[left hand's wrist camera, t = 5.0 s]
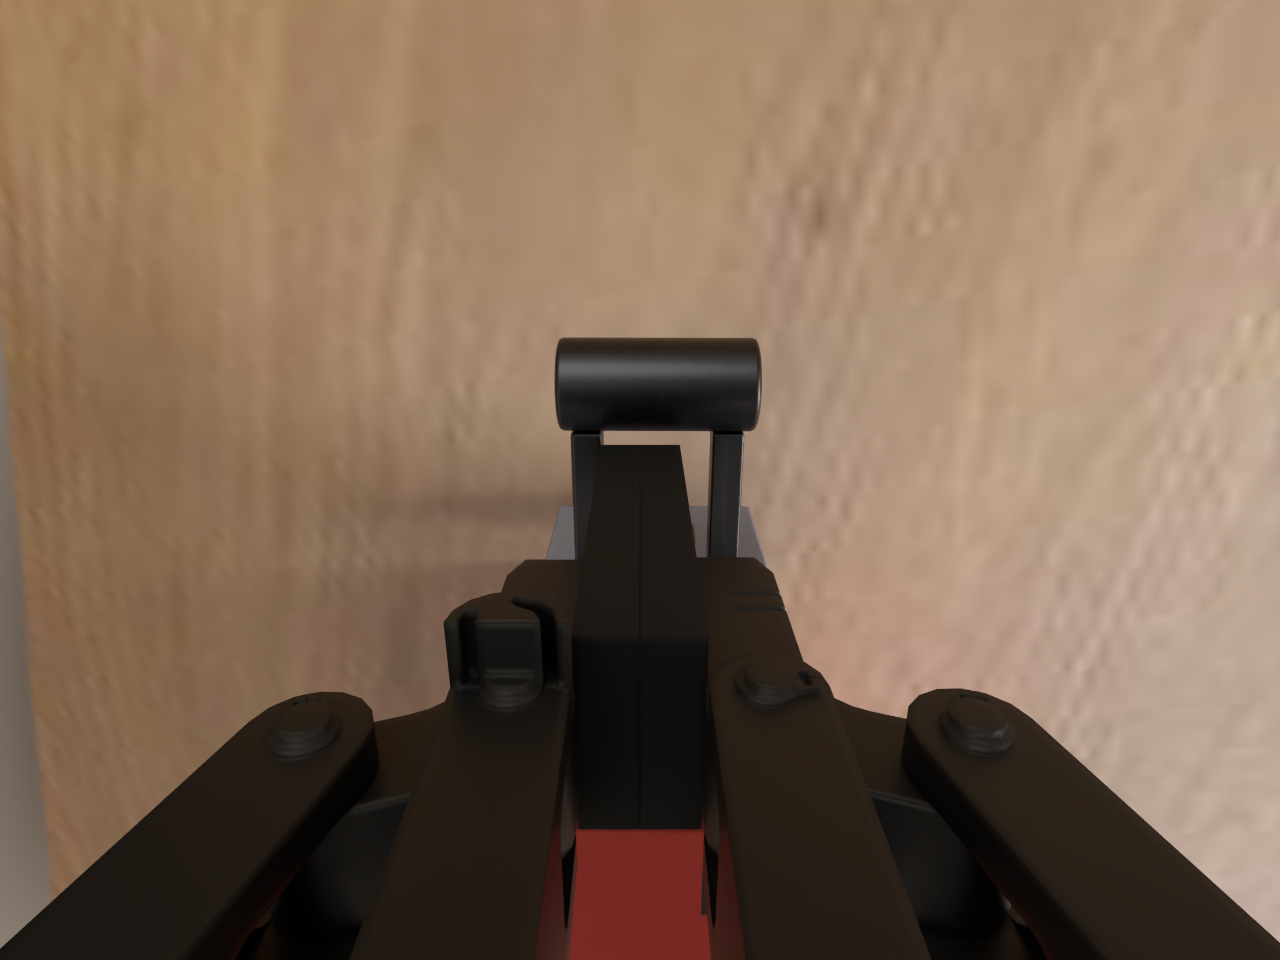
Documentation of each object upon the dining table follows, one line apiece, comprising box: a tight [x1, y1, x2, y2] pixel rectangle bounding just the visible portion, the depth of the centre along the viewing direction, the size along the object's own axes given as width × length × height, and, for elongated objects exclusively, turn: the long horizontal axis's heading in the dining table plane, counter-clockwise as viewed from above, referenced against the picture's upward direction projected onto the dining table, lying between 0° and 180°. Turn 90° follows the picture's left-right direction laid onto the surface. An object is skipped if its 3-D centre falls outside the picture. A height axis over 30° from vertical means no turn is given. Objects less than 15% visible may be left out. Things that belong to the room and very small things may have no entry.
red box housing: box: [569, 815, 711, 960], centre depth 21 cm, size 19×6×10 cm, turn 0°
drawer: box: [545, 338, 767, 568], centre depth 19 cm, size 23×5×8 cm, turn 0°
